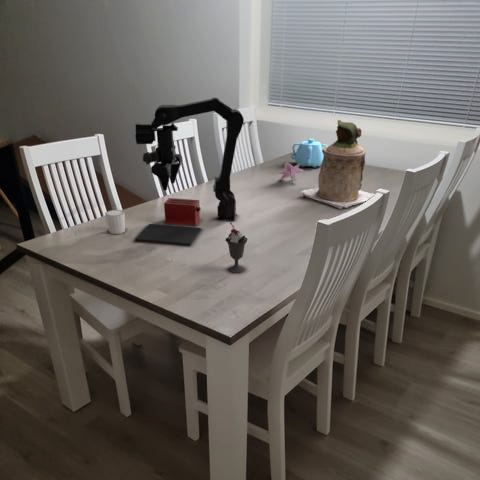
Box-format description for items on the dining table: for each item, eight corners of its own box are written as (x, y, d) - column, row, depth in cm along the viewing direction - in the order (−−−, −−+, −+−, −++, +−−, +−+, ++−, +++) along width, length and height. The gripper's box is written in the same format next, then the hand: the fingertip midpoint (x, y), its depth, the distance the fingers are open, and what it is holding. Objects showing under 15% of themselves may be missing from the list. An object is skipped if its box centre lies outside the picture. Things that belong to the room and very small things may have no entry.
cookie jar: (342, 210, 197) (352, 128, 180) (298, 196, 213) (304, 119, 196) (377, 198, 211) (390, 121, 194) (334, 186, 226) (342, 113, 209)
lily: (307, 183, 233) (303, 163, 232) (302, 179, 222) (298, 159, 221) (283, 189, 237) (280, 169, 236) (277, 186, 226) (274, 165, 225)
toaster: (202, 220, 186) (201, 199, 182) (198, 226, 181) (197, 205, 176) (170, 217, 188) (169, 197, 184) (165, 223, 183) (163, 203, 178)
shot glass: (130, 229, 178) (128, 210, 174) (120, 235, 172) (118, 216, 168) (114, 226, 180) (111, 208, 176) (104, 233, 174) (101, 214, 170)
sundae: (224, 265, 152) (224, 220, 144) (245, 264, 152) (246, 219, 144) (226, 274, 146) (225, 228, 138) (247, 273, 147) (248, 227, 139)
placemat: (201, 230, 177) (200, 227, 177) (190, 245, 165) (190, 243, 164) (149, 226, 180) (149, 223, 180) (135, 241, 168) (134, 238, 167)
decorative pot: (305, 170, 250) (307, 143, 242) (288, 163, 262) (289, 137, 254) (329, 167, 256) (332, 140, 249) (312, 160, 268) (314, 134, 261)
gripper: (153, 137, 181) (157, 178, 189) (134, 148, 166) (139, 192, 174) (181, 138, 179) (184, 180, 188) (165, 149, 164) (169, 194, 172)
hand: (169, 186), depth 180 cm, fingers open, 9 cm apart
